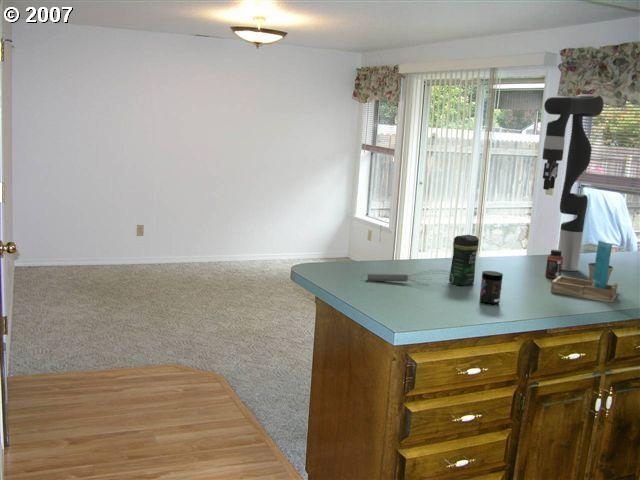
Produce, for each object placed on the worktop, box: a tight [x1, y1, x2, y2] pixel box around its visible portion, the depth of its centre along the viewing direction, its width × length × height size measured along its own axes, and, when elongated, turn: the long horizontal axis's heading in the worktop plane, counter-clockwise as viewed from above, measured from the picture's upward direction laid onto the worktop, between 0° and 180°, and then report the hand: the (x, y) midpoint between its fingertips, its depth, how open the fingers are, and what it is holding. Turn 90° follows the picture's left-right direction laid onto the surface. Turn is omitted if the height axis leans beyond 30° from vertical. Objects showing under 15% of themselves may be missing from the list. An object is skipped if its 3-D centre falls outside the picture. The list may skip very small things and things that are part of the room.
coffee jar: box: [448, 234, 479, 286], centre depth 248 cm, size 10×8×19 cm
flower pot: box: [587, 262, 615, 285], centre depth 258 cm, size 9×9×9 cm
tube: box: [592, 240, 613, 289], centre depth 241 cm, size 7×5×19 cm, turn 21°
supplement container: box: [479, 270, 504, 306], centre depth 223 cm, size 7×7×10 cm
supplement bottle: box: [545, 249, 563, 280], centre depth 270 cm, size 6×6×11 cm
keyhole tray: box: [550, 275, 619, 304], centre depth 245 cm, size 13×21×5 cm, turn 59°
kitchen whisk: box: [361, 269, 454, 288], centre depth 244 cm, size 6×34×6 cm, turn 86°
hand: (548, 189), depth 263 cm, fingers open, 8 cm apart
